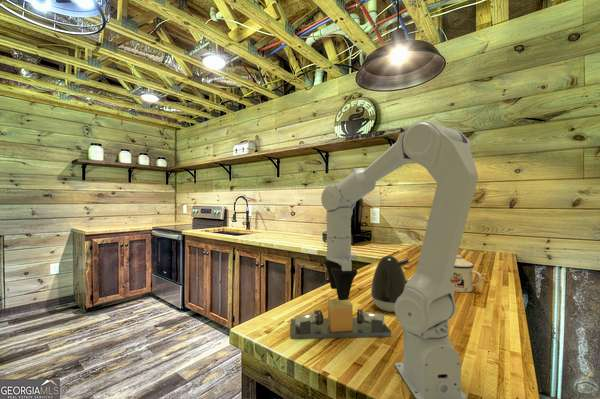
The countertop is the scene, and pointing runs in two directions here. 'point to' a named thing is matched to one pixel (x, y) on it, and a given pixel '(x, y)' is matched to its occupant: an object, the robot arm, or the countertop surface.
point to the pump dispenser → (388, 283)
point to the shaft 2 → (371, 320)
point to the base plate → (325, 331)
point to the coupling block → (340, 315)
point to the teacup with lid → (464, 275)
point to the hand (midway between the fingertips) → (339, 293)
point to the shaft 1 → (308, 321)
